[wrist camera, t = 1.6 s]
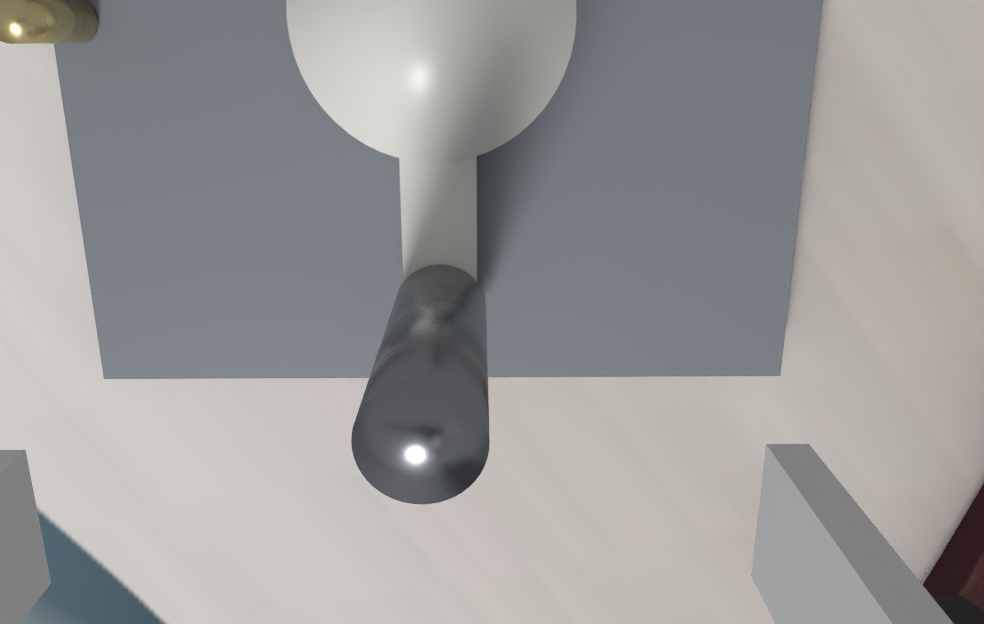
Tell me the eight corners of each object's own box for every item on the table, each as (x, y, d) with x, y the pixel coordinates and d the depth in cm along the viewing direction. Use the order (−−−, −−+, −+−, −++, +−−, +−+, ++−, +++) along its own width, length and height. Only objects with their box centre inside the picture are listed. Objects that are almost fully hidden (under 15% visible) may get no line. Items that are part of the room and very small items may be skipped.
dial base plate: (766, 360, 32) (823, 424, 26) (121, 363, 31) (48, 428, 26) (849, -420, 24) (951, -547, 19) (9, -426, 24) (-123, -558, 19)
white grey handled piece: (286, -325, 23) (128, -622, 13) (575, -323, 23) (651, -617, 13) (327, 339, 29) (242, 505, 19) (557, 338, 29) (600, 502, 19)
